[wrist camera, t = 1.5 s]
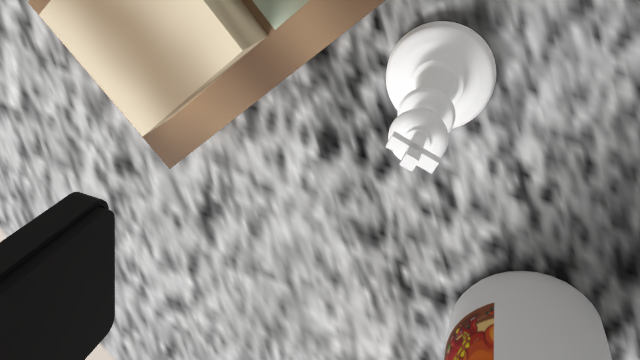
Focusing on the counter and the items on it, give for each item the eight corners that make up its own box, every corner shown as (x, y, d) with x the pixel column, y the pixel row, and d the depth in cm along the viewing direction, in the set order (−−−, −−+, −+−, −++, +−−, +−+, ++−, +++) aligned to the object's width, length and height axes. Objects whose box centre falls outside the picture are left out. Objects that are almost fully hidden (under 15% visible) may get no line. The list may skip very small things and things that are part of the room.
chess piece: (421, 0, 25) (378, 52, 16) (519, 56, 25) (529, 140, 16) (368, 93, 27) (306, 182, 19) (457, 145, 27) (436, 259, 18)
